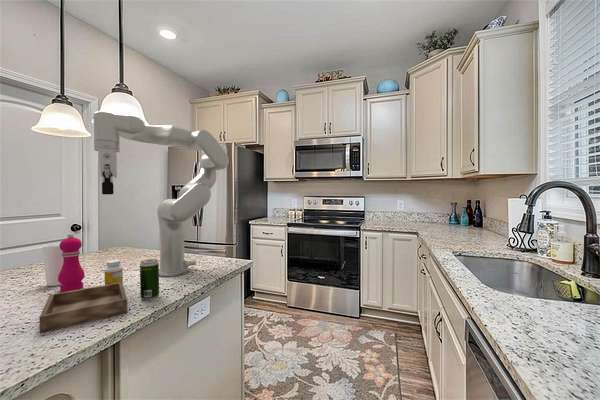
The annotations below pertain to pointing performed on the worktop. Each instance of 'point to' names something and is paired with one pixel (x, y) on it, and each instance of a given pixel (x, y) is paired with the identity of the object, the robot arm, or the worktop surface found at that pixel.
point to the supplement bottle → (113, 272)
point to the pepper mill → (71, 265)
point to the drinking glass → (52, 263)
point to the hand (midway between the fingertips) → (108, 194)
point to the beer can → (149, 279)
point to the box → (83, 306)
